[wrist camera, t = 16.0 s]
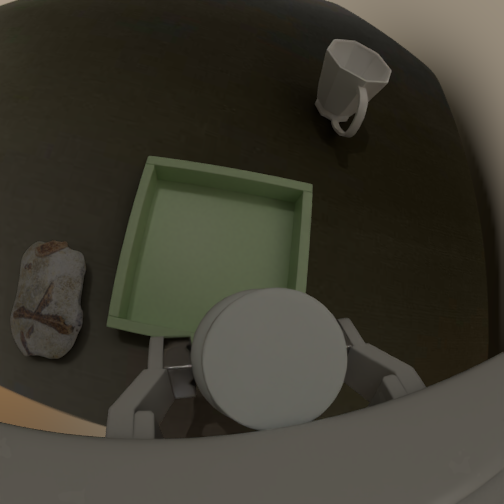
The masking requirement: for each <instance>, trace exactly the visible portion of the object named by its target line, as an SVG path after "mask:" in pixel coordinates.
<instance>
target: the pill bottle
mask: <svg viewBox="0 0 504 504" xmlns="http://www.w3.org/2000/svg"><path fill="white" fill-rule="evenodd" d="M191 362H192V370H193V376H194V379H195V381H196V384H197V386H198V388H199V390H200V391H201V393H202V395H203V396H204V398H205V399H206V400H207V401H208V402H209V403H210V404H211V405H212V406H213V407H214V408H215V409H216V410H218V411H219V412H220V413H222V414H223V415H225V416H227V417H229V418H231V419H233V420H234V421H236V422H237V423H239V424H241V425H243V426H245V427H248V428H251V429H255V430H259V431H262V430H269V429H275V428H281V427H286V426H292V425H297V424H302V423H307V422H311V421H313V420H314V419H316V418H317V417H318V416H320V415H321V414H322V413H323V412H324V411H325V410H326V409H327V408H328V407H329V406H330V405H331V404H332V402H333V401H334V399H335V398H336V396H337V395H338V393H339V391H340V389H341V387H342V385H343V382H344V378H345V375H346V370H347V348H346V342H345V338H344V335H343V332H342V330H341V328H340V326H339V324H338V322H337V320H336V319H335V317H334V316H333V315H332V314H331V313H330V311H329V310H328V309H327V308H326V307H325V306H324V305H323V304H322V303H320V302H319V301H318V300H316V299H315V298H313V297H311V296H309V295H307V294H305V293H303V292H300V291H297V290H293V289H288V288H265V289H250V290H244V291H241V292H238V293H235V294H232V295H230V296H228V297H226V298H224V299H222V300H221V301H220V302H218V303H216V304H215V305H214V306H213V307H212V308H211V309H210V310H209V311H208V312H207V313H206V315H205V316H204V317H203V319H202V320H201V322H200V323H199V325H198V327H197V330H196V332H195V334H194V338H193V341H192V345H191Z"/></svg>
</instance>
